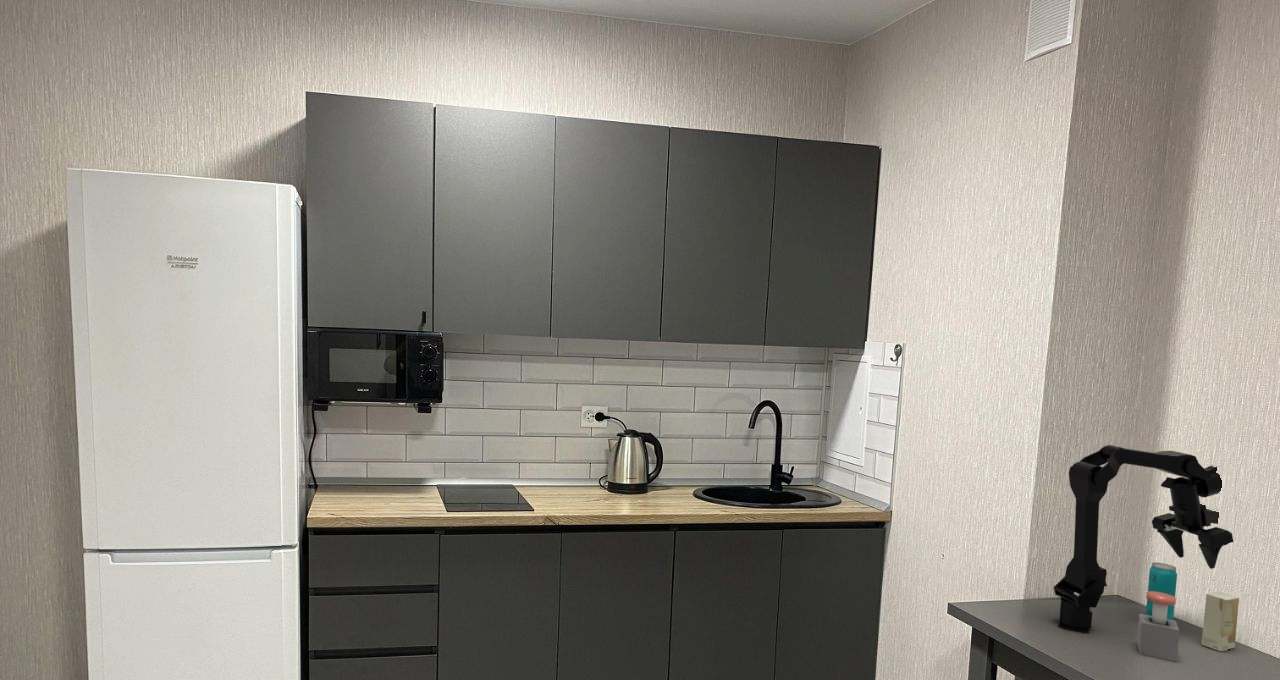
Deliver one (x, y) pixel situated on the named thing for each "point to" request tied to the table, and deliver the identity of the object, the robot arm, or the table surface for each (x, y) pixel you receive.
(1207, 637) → the skincare box
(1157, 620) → the red plunger
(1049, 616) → the table surface
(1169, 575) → the beverage can
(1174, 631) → the button housing
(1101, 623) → the table surface
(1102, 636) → the table surface
